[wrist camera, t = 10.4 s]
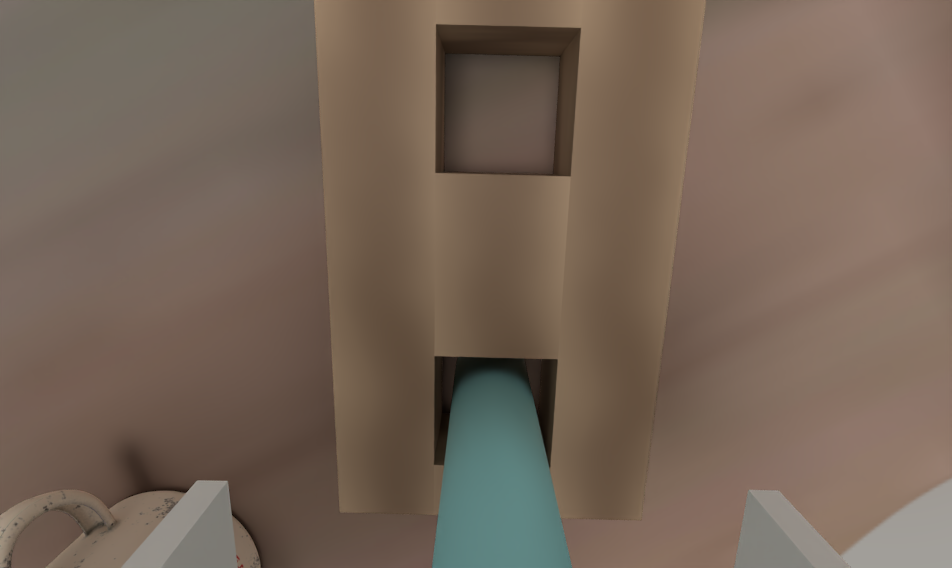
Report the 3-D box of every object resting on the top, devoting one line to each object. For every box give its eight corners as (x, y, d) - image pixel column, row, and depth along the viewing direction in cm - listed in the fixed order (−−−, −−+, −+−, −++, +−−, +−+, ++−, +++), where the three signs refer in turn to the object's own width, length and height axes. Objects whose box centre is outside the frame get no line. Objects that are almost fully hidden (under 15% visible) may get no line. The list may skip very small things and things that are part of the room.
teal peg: (455, 401, 22) (409, 840, 8) (456, 336, 22) (407, 688, 7) (524, 402, 22) (606, 845, 8) (527, 338, 22) (626, 694, 7)
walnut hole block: (363, 454, 23) (339, 512, 19) (346, -14, 18) (310, -62, 14) (614, 460, 23) (641, 520, 19) (663, -6, 18) (712, -52, 14)
